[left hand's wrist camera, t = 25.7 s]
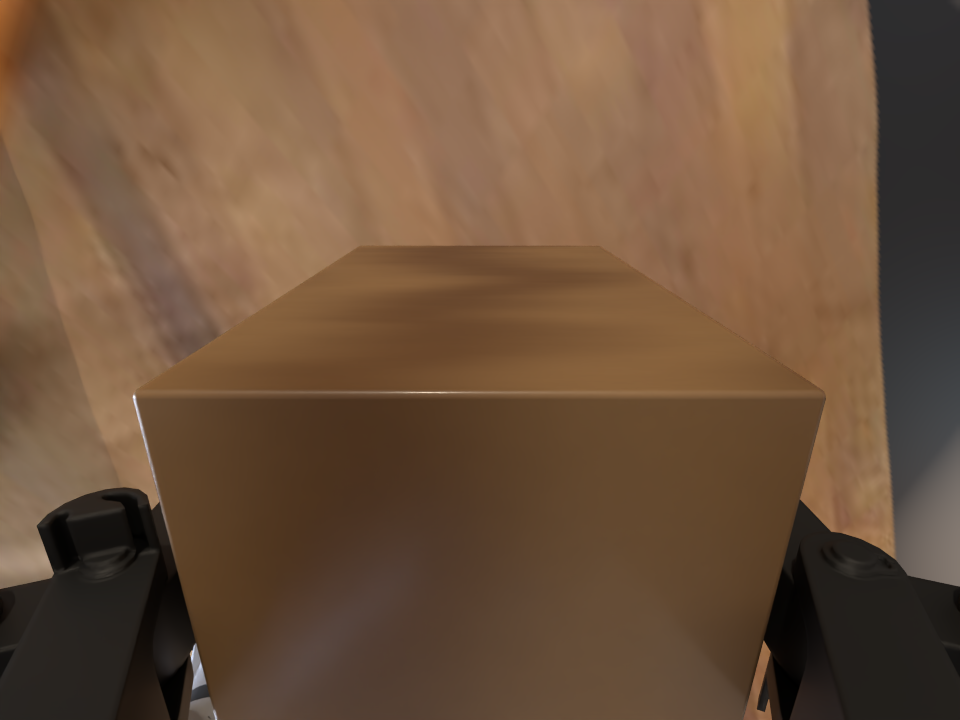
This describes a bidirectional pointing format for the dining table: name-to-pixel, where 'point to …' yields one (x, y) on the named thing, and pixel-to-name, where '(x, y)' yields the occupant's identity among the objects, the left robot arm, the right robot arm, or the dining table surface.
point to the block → (479, 493)
